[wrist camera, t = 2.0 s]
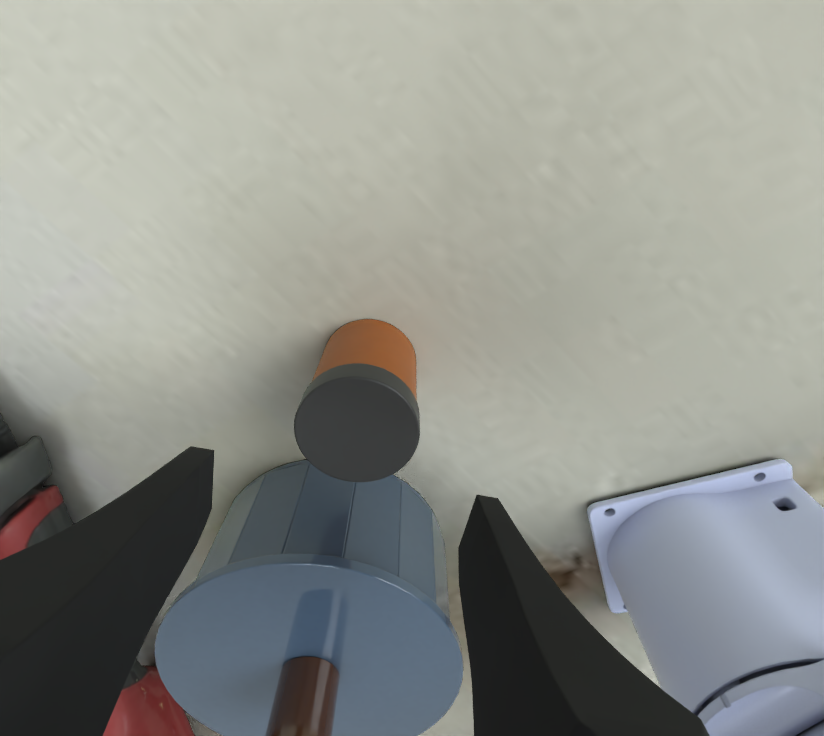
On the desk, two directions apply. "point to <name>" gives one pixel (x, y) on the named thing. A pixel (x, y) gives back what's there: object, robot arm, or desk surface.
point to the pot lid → (308, 650)
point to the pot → (335, 525)
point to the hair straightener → (44, 517)
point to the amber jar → (361, 404)
